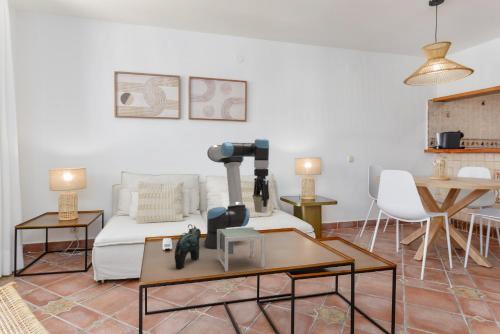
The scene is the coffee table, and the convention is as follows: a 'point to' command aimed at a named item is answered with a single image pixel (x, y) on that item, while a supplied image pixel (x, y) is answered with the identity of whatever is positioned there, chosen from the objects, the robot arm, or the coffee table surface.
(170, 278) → the coffee table surface
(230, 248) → the grey l-shaped slab
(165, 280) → the coffee table surface
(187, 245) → the dark green animal figurine
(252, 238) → the frame
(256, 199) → the flower pot
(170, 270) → the coffee table surface
